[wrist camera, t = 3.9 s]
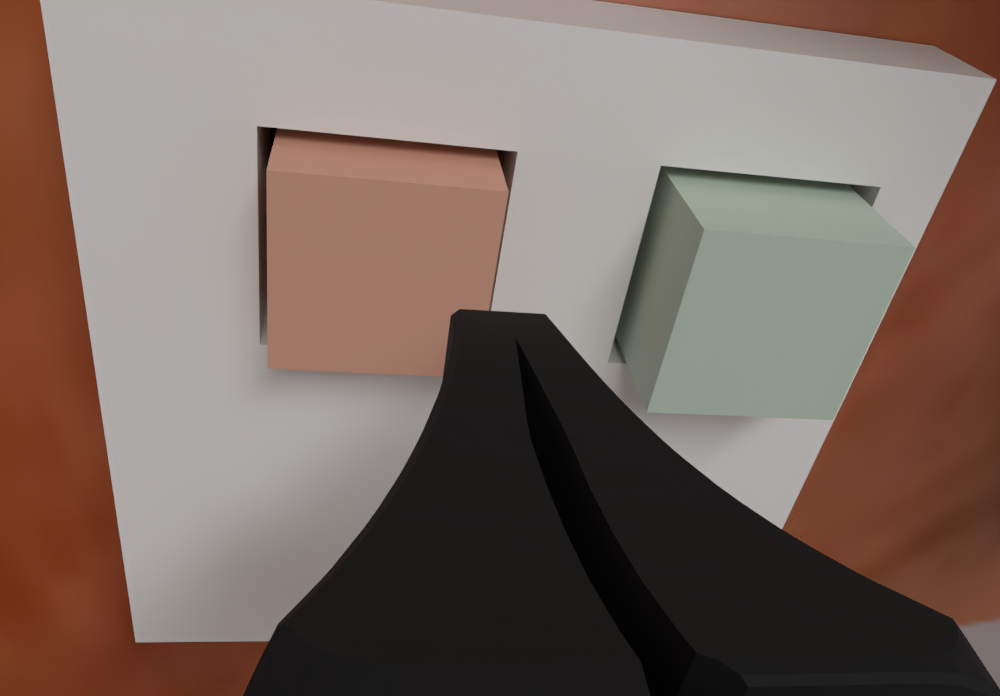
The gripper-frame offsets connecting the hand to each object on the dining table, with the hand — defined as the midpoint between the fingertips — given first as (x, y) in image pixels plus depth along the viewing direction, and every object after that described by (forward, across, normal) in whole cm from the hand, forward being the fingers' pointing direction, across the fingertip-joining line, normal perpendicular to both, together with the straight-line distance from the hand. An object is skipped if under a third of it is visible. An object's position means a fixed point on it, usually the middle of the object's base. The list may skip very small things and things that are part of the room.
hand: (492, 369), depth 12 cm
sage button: (+7, -7, +2) cm, 10 cm away
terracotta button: (+8, +1, +2) cm, 8 cm away
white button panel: (+9, -2, +6) cm, 10 cm away
